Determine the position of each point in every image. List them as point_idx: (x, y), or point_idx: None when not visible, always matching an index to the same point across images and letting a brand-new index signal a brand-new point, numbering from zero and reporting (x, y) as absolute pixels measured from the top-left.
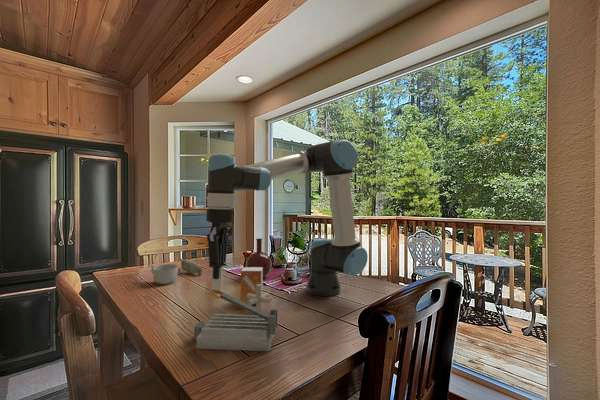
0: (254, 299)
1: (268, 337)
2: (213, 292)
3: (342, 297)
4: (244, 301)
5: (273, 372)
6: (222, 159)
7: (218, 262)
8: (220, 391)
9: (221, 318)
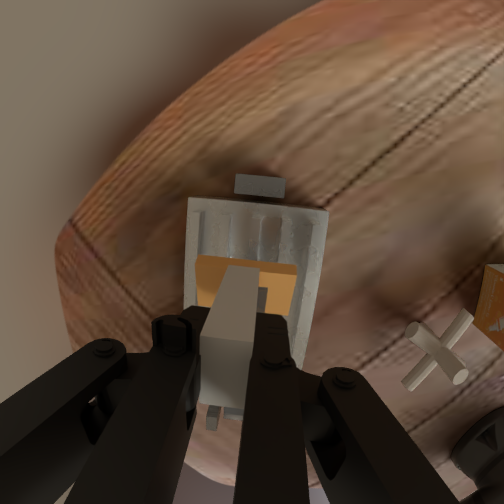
0: (422, 346)
1: None
2: (209, 278)
3: (435, 469)
4: (487, 278)
5: None
6: None
7: (105, 424)
8: (64, 289)
9: (278, 261)
